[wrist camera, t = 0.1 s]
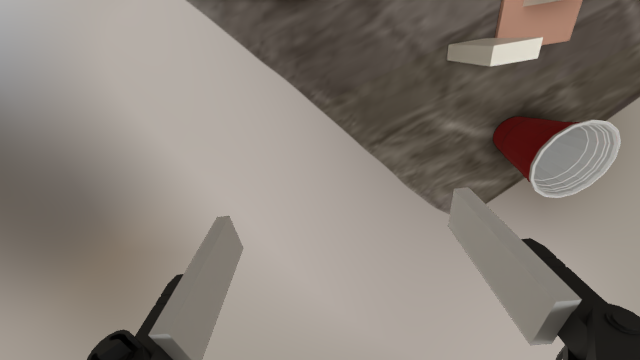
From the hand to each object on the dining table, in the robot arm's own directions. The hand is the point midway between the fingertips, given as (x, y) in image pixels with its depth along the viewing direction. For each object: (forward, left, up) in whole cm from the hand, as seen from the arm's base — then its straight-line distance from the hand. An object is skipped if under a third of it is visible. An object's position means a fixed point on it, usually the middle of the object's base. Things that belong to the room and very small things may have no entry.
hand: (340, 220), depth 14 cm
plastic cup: (+9, +31, -28) cm, 43 cm away
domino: (-5, +21, -28) cm, 35 cm away
